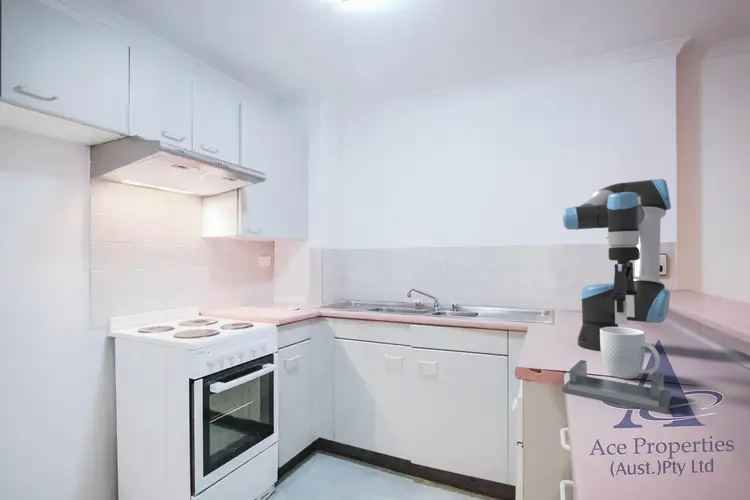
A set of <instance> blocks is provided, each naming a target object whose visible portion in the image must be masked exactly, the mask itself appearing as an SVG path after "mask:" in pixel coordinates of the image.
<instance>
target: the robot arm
mask: <svg viewBox="0 0 750 500" xmlns="http://www.w3.org/2000/svg"><path fill="white" fill-rule="evenodd" d="M667 183H668V182H667V180H665V179H664V178H663V179H662V178H657V179H653V178H650V179H647V180H638V181H629V182H618V183H614V184H612V185H611V184H610V185H608V186H605V187H603V188H601V189H598V190H597V191H595V192H594V193H593V194H592V195H591V196H590V199H588V200H587V201H585V202H584V203H582V204H581V205H579V206H578V205H577V206H571V207H566V208H565V209H564V210H563V213H562V222H563V226H564V228H565V229H567V230H577V231H578V230H589V229H608V230H607V232H608V235H606V236H605V238H606V239H607V240H608V245H609V246H610V247H609V248H608V259H609V260H610V261H617V264H616V263H615V264H614V278H613V279H614V281H613V282H611V283H610V282H609V283H598V284H590V285H585V286H583V287H582V288H581V289H582V290H581V298H580V299H581V319H582V321H581V323H582V325H581V328H580V331H579V333H578V337H577V345H578V346H579V347H582V348H585V349H588V350H595V351H601V346H600V329H601V328H605V327H619V325H624V326H626V325H628V321H629V322H641V323H642V322H643V323H647V324H650V323H653V324H654V323H658V324H661V323H663V322H664V321H665V320H666V318H667V316H668V311H669V307H670V298H671V292H670V290H669V289H667V288H666V287H665V286H666V285H665V284H664V283H663V282H662V281H661V280H660V272H661V271H660V270H661V269H660V268H661V267H660V266H661V265H660V264H661V261H660V260H661V219H662V218H663V217H665V216H666V213H667V211H668V210H671V209H672V204H671V199H670V193H669V189H668V184H667Z"/></svg>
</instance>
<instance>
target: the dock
mask: <svg viewBox="0 0 750 500" xmlns="http://www.w3.org/2000/svg"><path fill="white" fill-rule="evenodd" d="M587 364H588V363H587V360H583V359H581V360H579V361H578V362H577V363H576V364H575V365H574V366H572V368H570V369H569V380H568V381H567V382H566V383H565V384H564V385H563V386H561V392H562V393H564V394H565V393H566V394H571V395H575V396H579V397H583V398H584V397H585V398H588V399H595V400H599V401H603V402H608V403H612V404H613V403H614V404H619V405H624V406H628V407H632V406H633V408H637V407H638V408H639V409H642V408H643V410H648V411H653V412H657V413H661V414H667V415H668V410H669V407H670V403H671V400H672V390H665V375H664V372H662V371H658V370H656V371H655V373H654V376H653V378H652V381H651V383H650V386H649V387H648V386H643V385H638V384H631V383H627V382H621V381H615V380H608V379H603V378H600V377H599V378H598V377H593V376H592V377H591V376H588V369H587V368H588V367H587V366H588V365H587Z"/></svg>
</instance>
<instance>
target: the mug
mask: <svg viewBox="0 0 750 500" xmlns="http://www.w3.org/2000/svg"><path fill="white" fill-rule="evenodd" d="M645 339H646V337H645V332H644V331H643V330H640V329H637V328H636V329H635V328H629V327H620V326H618V327H605V328H601V329H600V346H601V350H600V354H601V355H600V356H601V359H602V362H603V365H604V368H605V370H606V371H607V373H608V374H609V375H610V376H612V377H615V378H618V379H624V380H631V379H636V378H637V377H638V376H639V375H640V374H651V373H654V372H656V371H658V369H659V367H660V364H661V358H660V354H659V352H658V350H657V349H656V347H655V346H653V344H650V343H647V342H646V340H645ZM646 348H647V349H648V350H650V351H651V352H652V354H653V357H654V365H653V366H652V368H649V369H643V366H644V363H645V357H646V355H645V353H646Z"/></svg>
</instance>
